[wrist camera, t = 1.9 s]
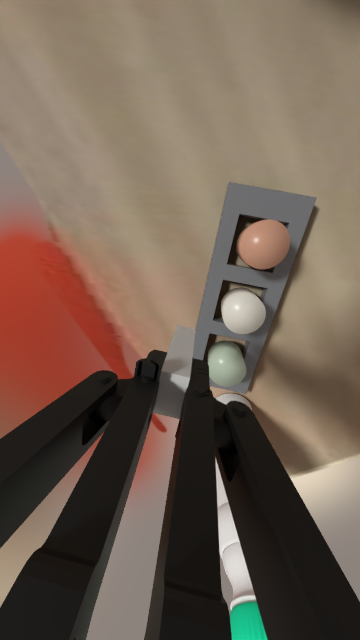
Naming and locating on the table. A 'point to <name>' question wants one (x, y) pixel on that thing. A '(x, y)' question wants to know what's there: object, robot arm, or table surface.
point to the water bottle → (236, 562)
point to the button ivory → (242, 311)
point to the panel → (257, 206)
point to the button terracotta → (263, 244)
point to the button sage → (226, 363)
